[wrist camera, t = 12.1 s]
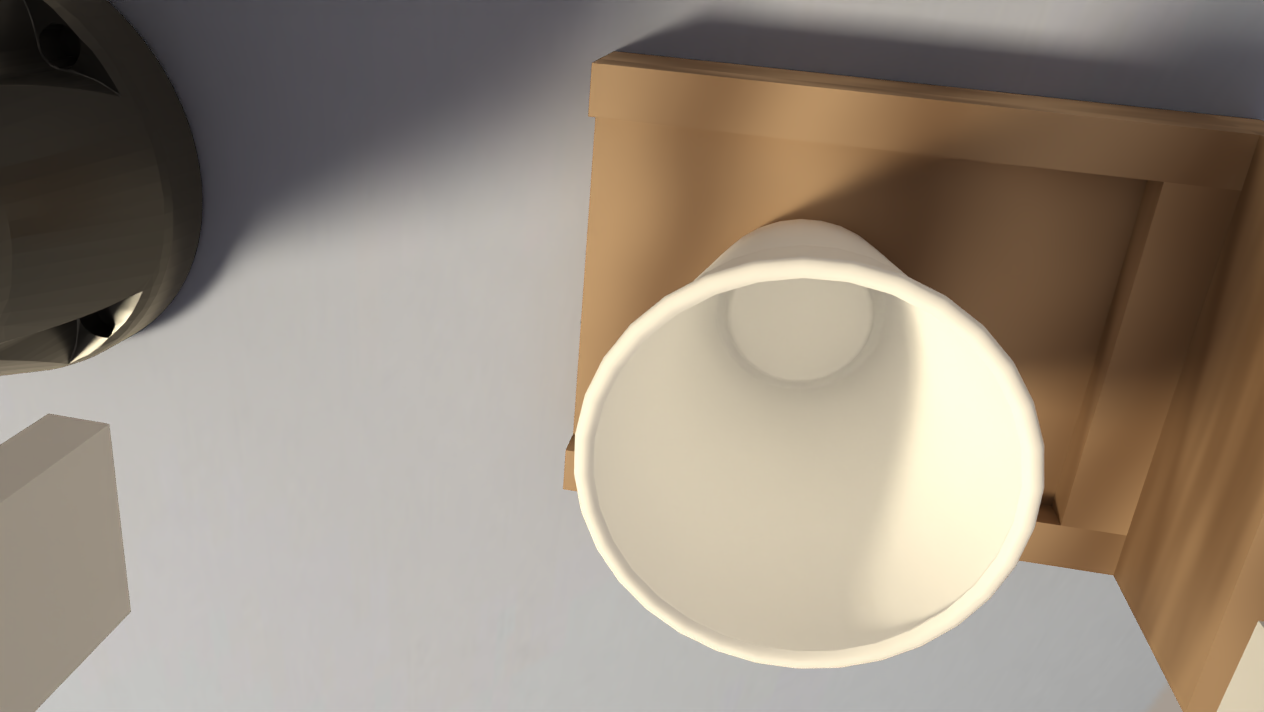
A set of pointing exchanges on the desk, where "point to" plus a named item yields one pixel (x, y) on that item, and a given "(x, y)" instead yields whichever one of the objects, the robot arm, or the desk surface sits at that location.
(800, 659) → the cup
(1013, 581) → the desk surface
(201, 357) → the desk surface
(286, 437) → the desk surface
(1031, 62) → the desk surface
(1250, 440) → the bracket shelf
